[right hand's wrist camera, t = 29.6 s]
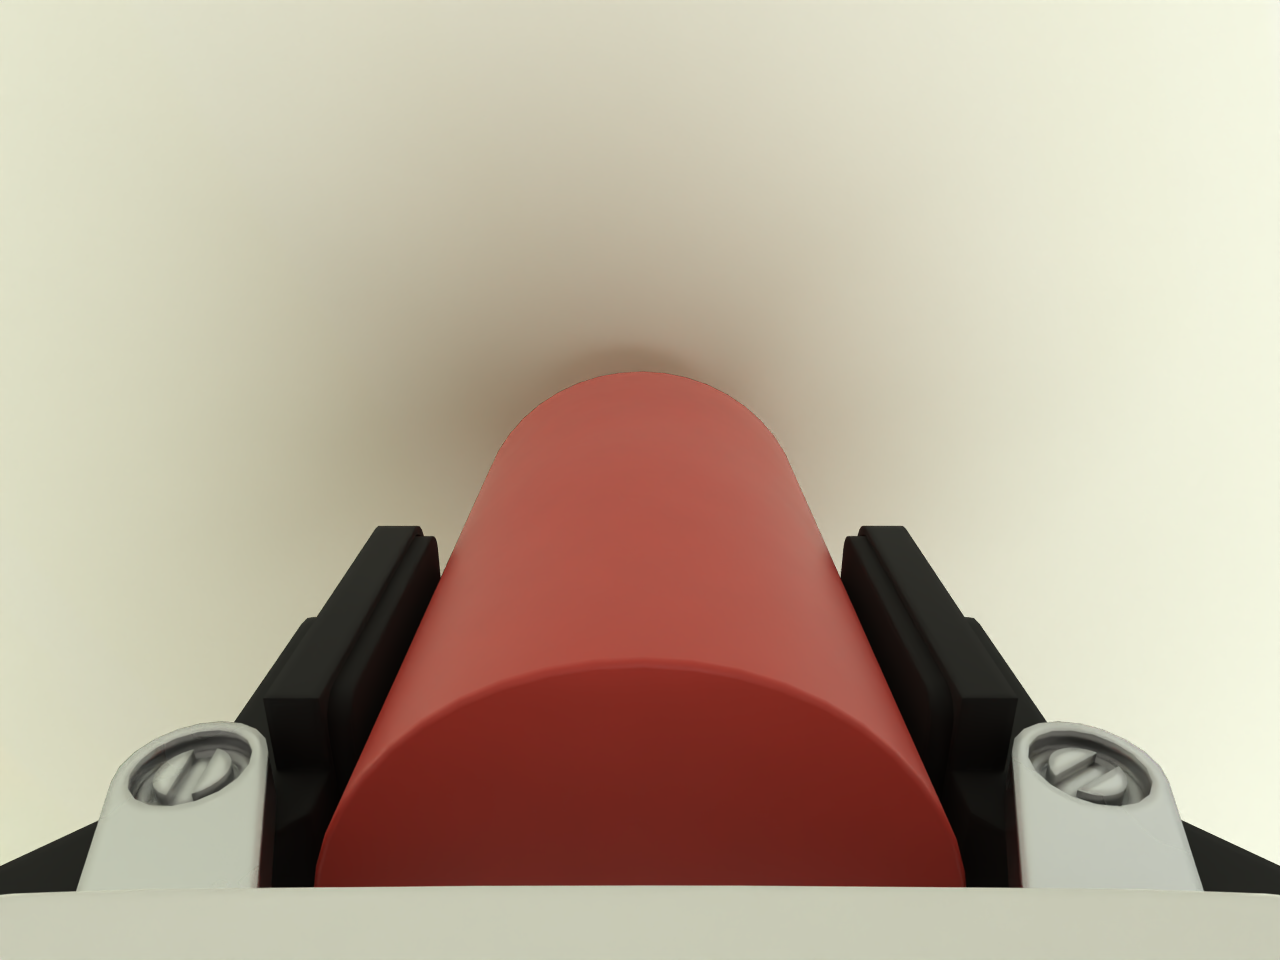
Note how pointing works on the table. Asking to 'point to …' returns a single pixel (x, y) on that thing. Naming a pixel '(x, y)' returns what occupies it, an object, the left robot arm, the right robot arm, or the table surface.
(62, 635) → the table surface
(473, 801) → the canister
